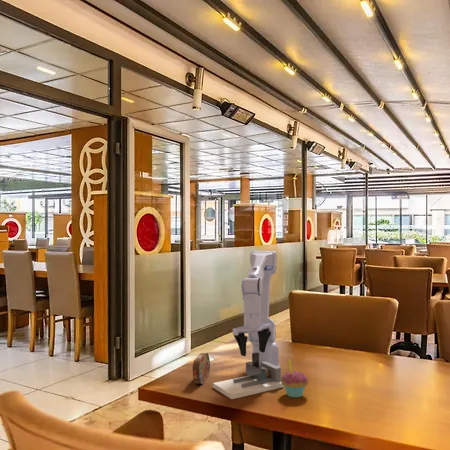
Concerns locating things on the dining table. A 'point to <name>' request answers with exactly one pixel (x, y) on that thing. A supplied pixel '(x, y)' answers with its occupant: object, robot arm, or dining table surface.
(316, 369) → the dining table surface
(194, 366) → the tin
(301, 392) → the cupcake
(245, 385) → the board
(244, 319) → the robot arm
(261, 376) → the sliding jaw
